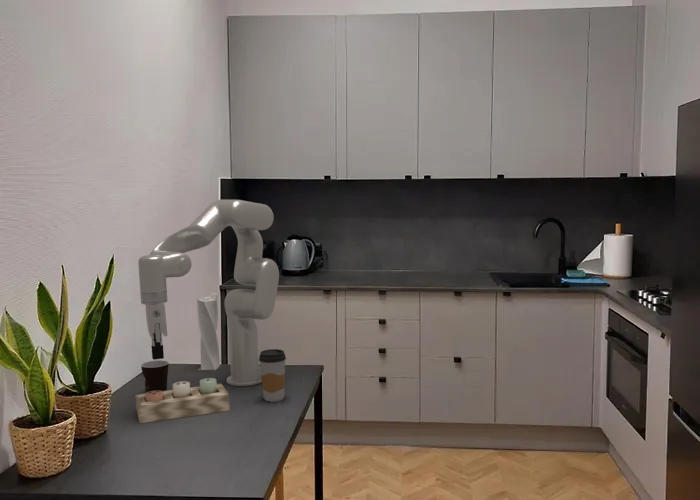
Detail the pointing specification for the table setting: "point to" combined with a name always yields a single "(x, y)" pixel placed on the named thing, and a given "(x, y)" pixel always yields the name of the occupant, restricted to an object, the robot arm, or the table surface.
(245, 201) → the robot arm
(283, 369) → the coffee cup
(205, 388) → the button sage
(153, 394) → the pink rounded cylinder
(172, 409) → the beige long block
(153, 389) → the coffee mug
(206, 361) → the skyscraper
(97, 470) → the table surface
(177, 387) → the button cream
